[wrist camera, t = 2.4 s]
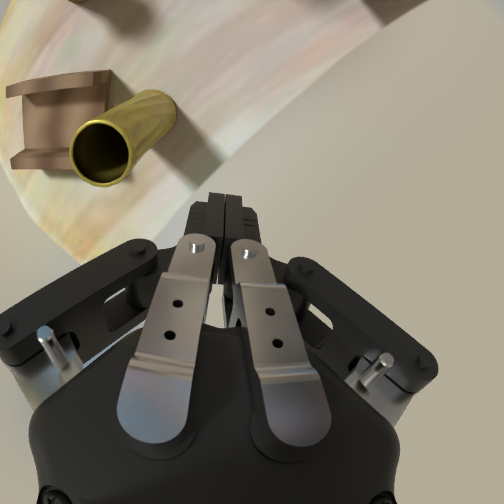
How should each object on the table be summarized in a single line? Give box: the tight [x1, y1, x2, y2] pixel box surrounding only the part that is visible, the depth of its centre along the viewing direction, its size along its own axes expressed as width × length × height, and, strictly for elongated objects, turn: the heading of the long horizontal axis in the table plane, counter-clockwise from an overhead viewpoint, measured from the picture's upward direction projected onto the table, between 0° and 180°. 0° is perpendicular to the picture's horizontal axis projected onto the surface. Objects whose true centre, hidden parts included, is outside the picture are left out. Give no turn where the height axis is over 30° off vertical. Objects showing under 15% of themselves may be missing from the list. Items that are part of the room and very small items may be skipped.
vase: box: [69, 90, 176, 187], centre depth 23 cm, size 6×6×14 cm
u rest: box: [6, 70, 110, 170], centre depth 24 cm, size 13×11×4 cm
